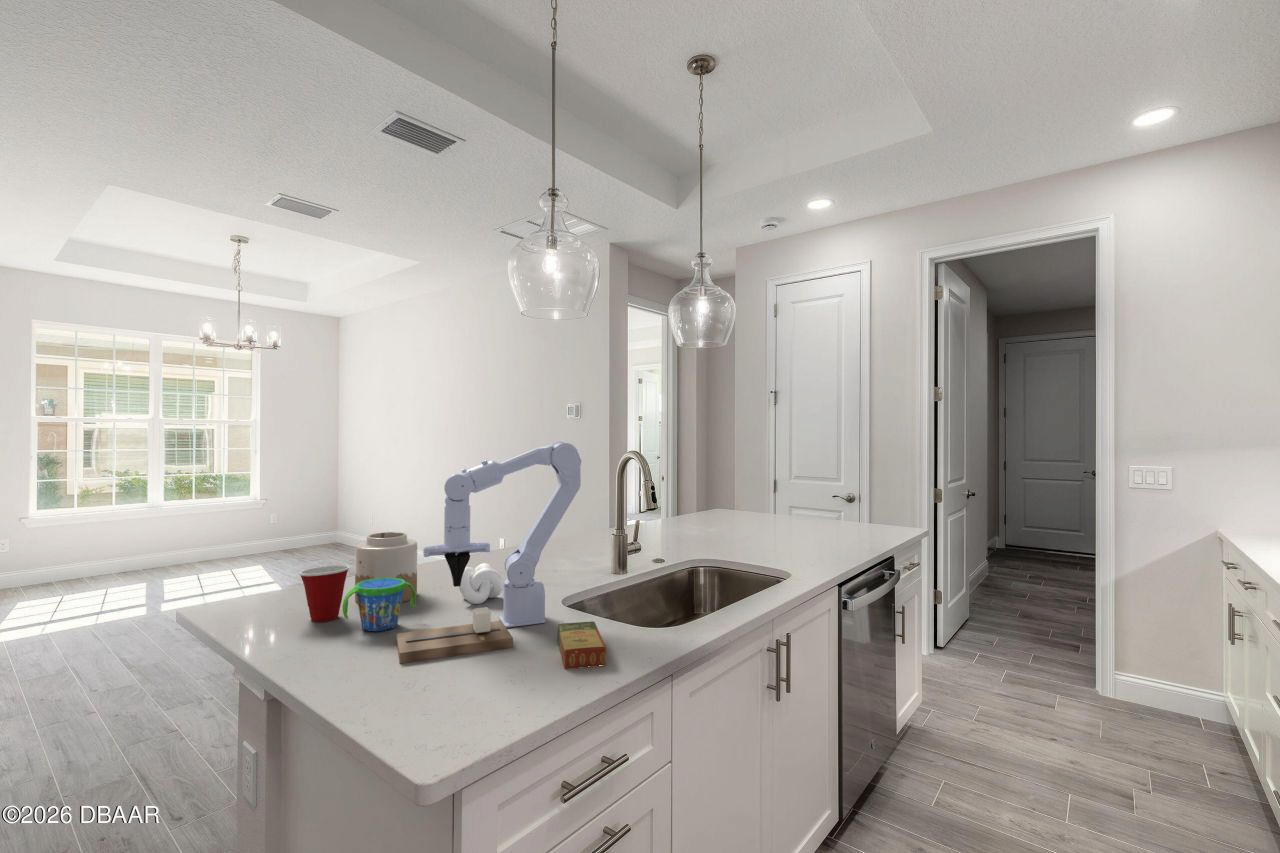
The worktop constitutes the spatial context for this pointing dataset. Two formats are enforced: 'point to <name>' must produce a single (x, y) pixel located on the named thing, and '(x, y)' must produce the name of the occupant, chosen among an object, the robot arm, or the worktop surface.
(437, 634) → the fader console
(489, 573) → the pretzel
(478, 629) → the fader tab
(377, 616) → the snack cup
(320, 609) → the plastic cup
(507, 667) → the worktop surface
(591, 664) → the carton
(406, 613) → the worktop surface
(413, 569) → the vase
